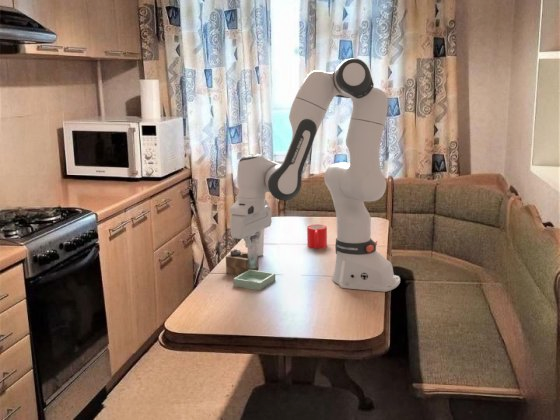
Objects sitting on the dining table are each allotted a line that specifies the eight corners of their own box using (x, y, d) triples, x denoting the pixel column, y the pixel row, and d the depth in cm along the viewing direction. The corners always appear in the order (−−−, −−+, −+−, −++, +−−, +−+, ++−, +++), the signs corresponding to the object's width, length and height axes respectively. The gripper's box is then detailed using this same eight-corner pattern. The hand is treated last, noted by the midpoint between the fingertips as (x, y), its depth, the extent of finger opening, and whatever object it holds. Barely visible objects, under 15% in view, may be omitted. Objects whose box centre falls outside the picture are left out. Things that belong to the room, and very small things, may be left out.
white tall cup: (263, 257, 220) (261, 219, 217) (245, 257, 222) (244, 219, 218) (267, 252, 227) (265, 215, 223) (250, 251, 228) (248, 214, 225)
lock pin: (259, 266, 193) (258, 235, 191) (254, 268, 190) (254, 237, 188) (250, 264, 195) (250, 234, 192) (245, 267, 192) (245, 236, 190)
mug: (307, 251, 227) (306, 232, 225) (307, 242, 239) (307, 224, 237) (327, 251, 226) (327, 232, 225) (326, 242, 238) (326, 224, 236)
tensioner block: (258, 270, 206) (257, 249, 205) (248, 276, 200) (247, 254, 199) (237, 266, 211) (236, 246, 209) (226, 272, 205) (225, 251, 203)
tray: (275, 280, 196) (275, 273, 195) (260, 290, 187) (259, 283, 187) (249, 276, 201) (249, 269, 200) (233, 285, 192) (233, 278, 191)
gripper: (259, 197, 198) (260, 236, 201) (226, 209, 181) (227, 252, 184) (275, 199, 195) (276, 239, 198) (243, 211, 178) (244, 254, 181)
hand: (252, 245), depth 191 cm, fingers closed on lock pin, 3 cm apart
